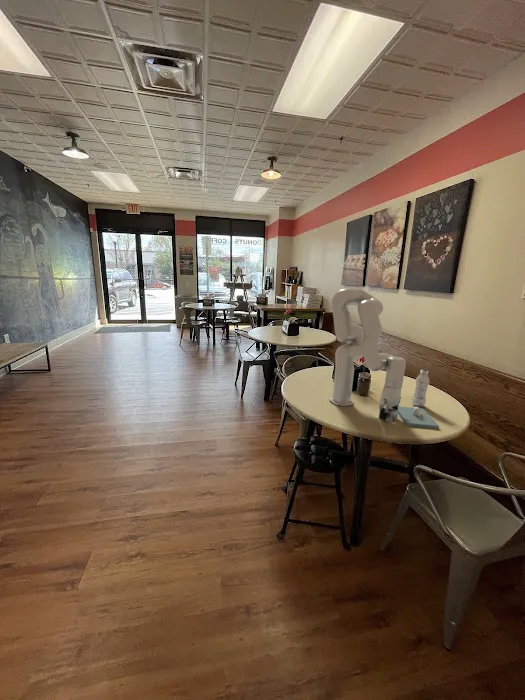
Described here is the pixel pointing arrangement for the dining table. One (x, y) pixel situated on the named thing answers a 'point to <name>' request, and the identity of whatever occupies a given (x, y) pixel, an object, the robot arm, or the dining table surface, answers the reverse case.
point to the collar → (391, 415)
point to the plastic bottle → (421, 388)
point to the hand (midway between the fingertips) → (388, 416)
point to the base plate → (416, 417)
